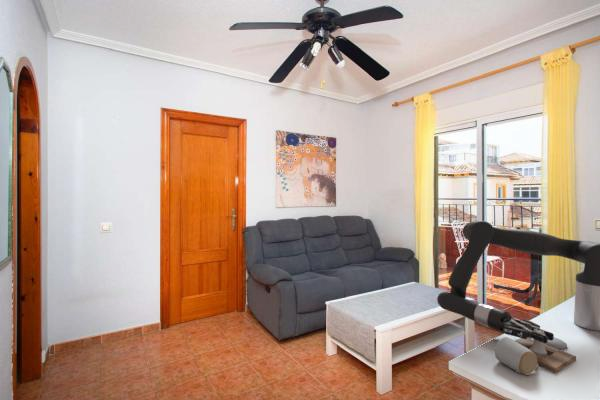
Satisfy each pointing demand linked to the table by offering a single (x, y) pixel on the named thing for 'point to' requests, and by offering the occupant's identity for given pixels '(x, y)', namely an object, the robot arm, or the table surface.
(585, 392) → the table surface
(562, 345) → the slate-grey pad
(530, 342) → the walnut frame
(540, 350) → the rook chess piece
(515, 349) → the ceramic mug
